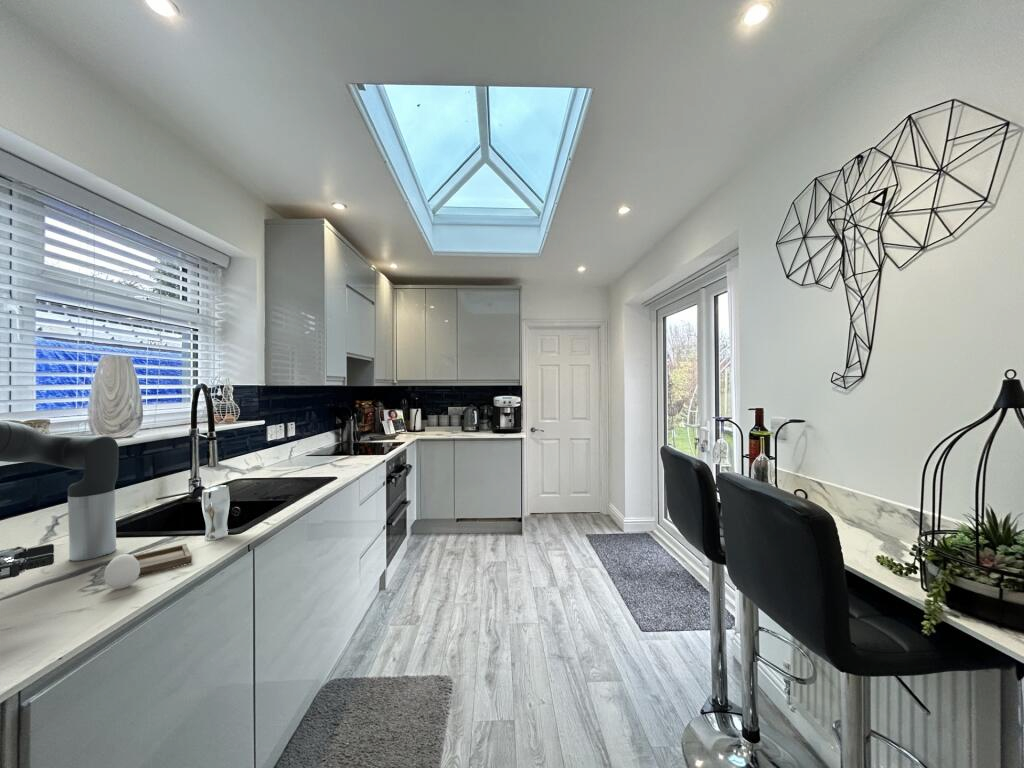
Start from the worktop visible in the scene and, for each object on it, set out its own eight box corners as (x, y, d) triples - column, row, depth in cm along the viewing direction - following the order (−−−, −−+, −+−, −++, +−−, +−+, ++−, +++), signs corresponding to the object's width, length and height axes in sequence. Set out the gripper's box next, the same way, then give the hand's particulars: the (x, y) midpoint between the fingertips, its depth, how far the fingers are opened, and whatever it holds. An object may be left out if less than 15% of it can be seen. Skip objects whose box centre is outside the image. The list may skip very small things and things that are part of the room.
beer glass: (226, 531, 131) (225, 484, 131) (233, 535, 127) (232, 487, 127) (199, 537, 126) (198, 489, 126) (206, 542, 121) (205, 492, 122)
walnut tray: (128, 564, 108) (127, 556, 108) (186, 550, 116) (186, 543, 116) (128, 579, 99) (128, 570, 99) (191, 563, 107) (191, 555, 107)
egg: (113, 584, 96) (112, 552, 96) (145, 579, 98) (144, 547, 98) (98, 596, 91) (97, 562, 91) (132, 591, 93) (132, 557, 93)
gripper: (-89, 570, 70) (54, 542, 82) (-73, 551, 79) (53, 528, 91) (-89, 615, 70) (54, 580, 82) (-73, 590, 79) (53, 562, 91)
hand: (53, 553), depth 87 cm, fingers open, 8 cm apart
